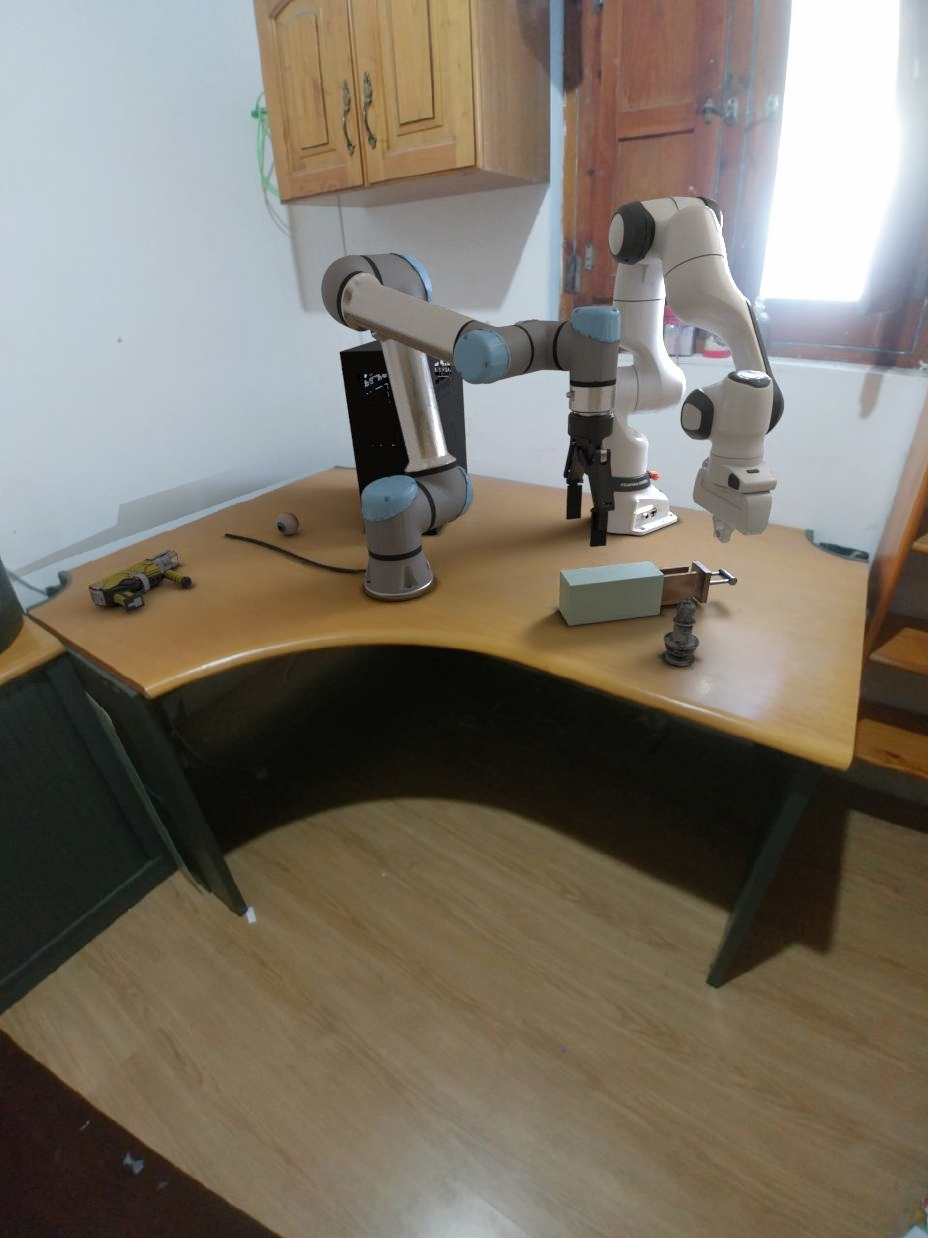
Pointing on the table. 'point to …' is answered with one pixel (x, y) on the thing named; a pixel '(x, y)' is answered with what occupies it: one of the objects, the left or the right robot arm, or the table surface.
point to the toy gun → (136, 582)
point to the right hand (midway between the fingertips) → (721, 539)
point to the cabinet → (610, 592)
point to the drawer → (690, 582)
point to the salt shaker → (681, 636)
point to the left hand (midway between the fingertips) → (584, 531)
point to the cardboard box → (394, 414)
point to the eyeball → (287, 523)
